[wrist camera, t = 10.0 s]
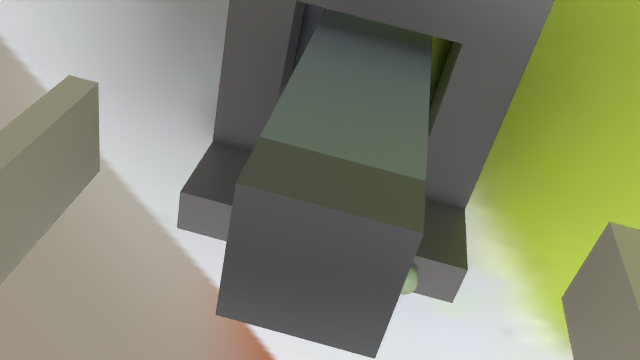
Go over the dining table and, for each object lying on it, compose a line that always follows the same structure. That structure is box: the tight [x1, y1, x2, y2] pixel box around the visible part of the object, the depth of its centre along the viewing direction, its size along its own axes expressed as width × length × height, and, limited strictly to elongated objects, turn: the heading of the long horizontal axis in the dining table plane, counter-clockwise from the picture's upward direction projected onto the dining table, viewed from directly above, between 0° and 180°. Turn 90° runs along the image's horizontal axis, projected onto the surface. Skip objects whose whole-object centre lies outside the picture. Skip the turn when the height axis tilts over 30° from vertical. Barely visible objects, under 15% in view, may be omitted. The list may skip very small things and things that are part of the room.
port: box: [177, 0, 554, 303], centre depth 21 cm, size 10×10×7 cm
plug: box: [216, 8, 432, 358], centre depth 19 cm, size 4×4×12 cm
